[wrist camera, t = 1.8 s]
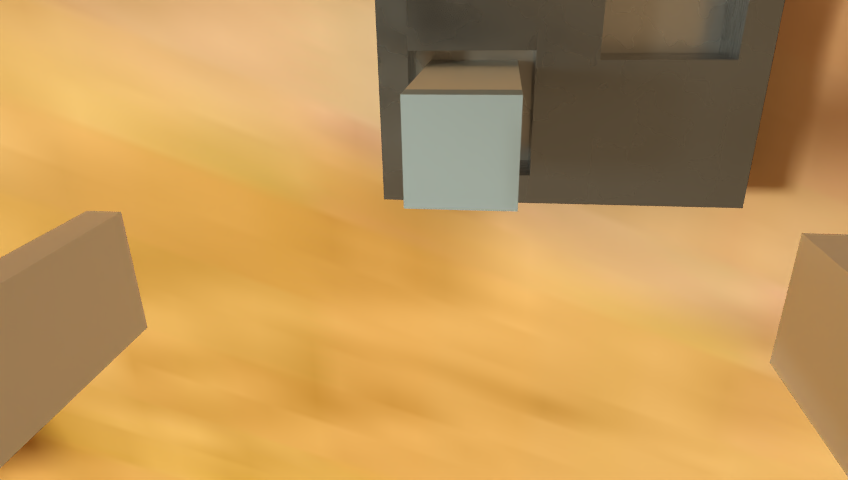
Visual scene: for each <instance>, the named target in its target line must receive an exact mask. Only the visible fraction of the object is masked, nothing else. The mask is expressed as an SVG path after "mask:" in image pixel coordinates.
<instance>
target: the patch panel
mask: <svg viewBox="0 0 848 480" xmlns="http://www.w3.org/2000/svg"><path fill="white" fill-rule="evenodd" d="M784 2H785V0H375V10H376V31H377V53H378V75H379V96H380V118H381V140H382V161H383V183H384V199H395V200H404V195H403V164H402V134H401V103H400V94H401V93H402V92H403V91H404V90H405V89H406V88H407V86H408V85H409V84H410V83H411V82H412V81H413V80H414V79H415V77H416V76H417V75H418V74H419V73H420V72H421V71H422V70H423V69H424V67H425V66H426V65H427V64H428V63H429V62H430V61H466V60H518V67H519V73H520V79H521V86H522V92H523V105H522V126H521V148H520V169H519V190H518V203H558V204H599V205H640V206H681V207H721V208H743V203H744V198H745V193H746V189H747V184H748V179H749V174H750V169H751V164H752V159H753V154H754V149H755V144H756V140H757V135H758V130H759V125H760V120H761V115H762V110H763V105H764V100H765V95H766V90H767V86H768V81H769V76H770V71H771V66H772V61H773V56H774V51H775V46H776V41H777V37H778V32H779V27H780V22H781V17H782V12H783V7H784Z"/></svg>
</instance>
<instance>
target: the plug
mask: <svg viewBox="0 0 848 480" xmlns="http://www.w3.org/2000/svg"><path fill="white" fill-rule="evenodd" d="M400 103H401V134H402V164H403V195H404V208H408V209H446V210H484V211H518V190H519V169H520V148H521V126H522V105H523V92H522V86H521V79H520V73H519V67H518V60H466V61H430V62H429V63H428V64H427V65H426V66H425V67H424V69H423V70H422V71H421V72H420V73H419V74H418V75H417V76H416V77H415V79H414V80H413V81H412V82H411V83H410V84H409V85H408V86H407V88H406V89H405V90H404V91H403V92H402V93H401V94H400Z"/></svg>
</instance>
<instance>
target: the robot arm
mask: <svg viewBox="0 0 848 480" xmlns="http://www.w3.org/2000/svg"><path fill="white" fill-rule="evenodd" d="M146 328H147V324H146V319H145V315H144V311H143V306H142V302H141V298H140V293H139V289H138V284H137V280H136V276H135V271H134V267H133V262H132V258H131V254H130V249H129V245H128V241H127V236H126V232H125V227H124V223H123V219H122V214H121V212H103V211H86V212H84V213H82V214H80V215H78V216H77V217H75V218H73V219H71V220H69V221H67V222H66V223H64V224H62V225H60V226H58V227H56V228H55V229H53V230H51V231H49V232H47V233H45V234H43V235H42V236H40V237H38V238H36V239H34V240H32V241H31V242H29V243H27V244H25V245H23V246H21V247H20V248H18V249H16V250H14V251H12V252H10V253H9V254H7V255H5V256H3V257H1V258H0V468H1V467H2V466H3V465H4V464H5V463H6V462H7V461H8V460H9V459H10V458H11V457H12V456H13V455H14V454H15V453H16V452H17V451H19V450H20V449H21V448H22V447H23V446H24V445H25V444H26V443H27V442H28V441H29V440H30V439H31V438H32V437H33V436H34V435H35V434H36V433H37V432H38V431H39V430H41V429H42V428H43V427H44V426H45V425H46V424H47V423H48V422H49V421H50V420H51V419H52V418H53V417H54V416H55V415H56V414H57V413H58V412H59V411H60V410H61V409H62V408H64V407H65V406H66V405H67V404H68V403H69V402H70V401H71V400H72V399H73V398H74V397H75V396H76V395H77V394H78V393H79V392H80V391H81V390H82V389H83V388H84V387H85V386H87V385H88V384H89V383H90V382H91V381H92V380H93V379H94V378H95V377H96V376H97V375H98V374H99V373H100V372H101V371H102V370H103V369H104V368H105V367H106V366H107V365H109V364H110V363H111V362H112V361H113V360H114V359H115V358H116V357H117V356H118V355H119V354H120V353H121V352H122V351H123V350H124V349H125V348H126V347H127V346H128V345H129V344H130V343H132V342H133V341H134V340H135V339H136V338H137V337H138V336H139V335H140V334H141V333H142V332H143V331H144V330H145V329H146ZM770 364H771V365H772V366H773V368H774V369H775V371H776V372H777V374H778V375H779V377H780V378H781V380H782V381H783V383H784V384H785V385H786V387H787V388H788V390H789V391H790V393H791V394H792V396H793V397H794V399H795V400H796V402H797V403H798V405H799V406H800V407H801V409H802V410H803V412H804V413H805V415H806V416H807V418H808V419H809V421H810V422H811V424H812V425H813V426H814V428H815V429H816V431H817V432H818V434H819V435H820V437H821V438H822V440H823V441H824V443H825V444H826V445H827V447H828V448H829V450H830V451H831V453H832V454H833V456H834V457H835V459H836V460H837V462H838V463H839V465H840V466H841V467H842V469H843V470H844V472H845V473H846V475H847V476H848V235H841V234H809V233H802V235H801V239H800V243H799V247H798V251H797V255H796V259H795V263H794V267H793V271H792V275H791V279H790V283H789V287H788V291H787V296H786V300H785V304H784V308H783V312H782V316H781V320H780V324H779V328H778V332H777V336H776V340H775V344H774V348H773V352H772V356H771V360H770Z"/></svg>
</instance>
